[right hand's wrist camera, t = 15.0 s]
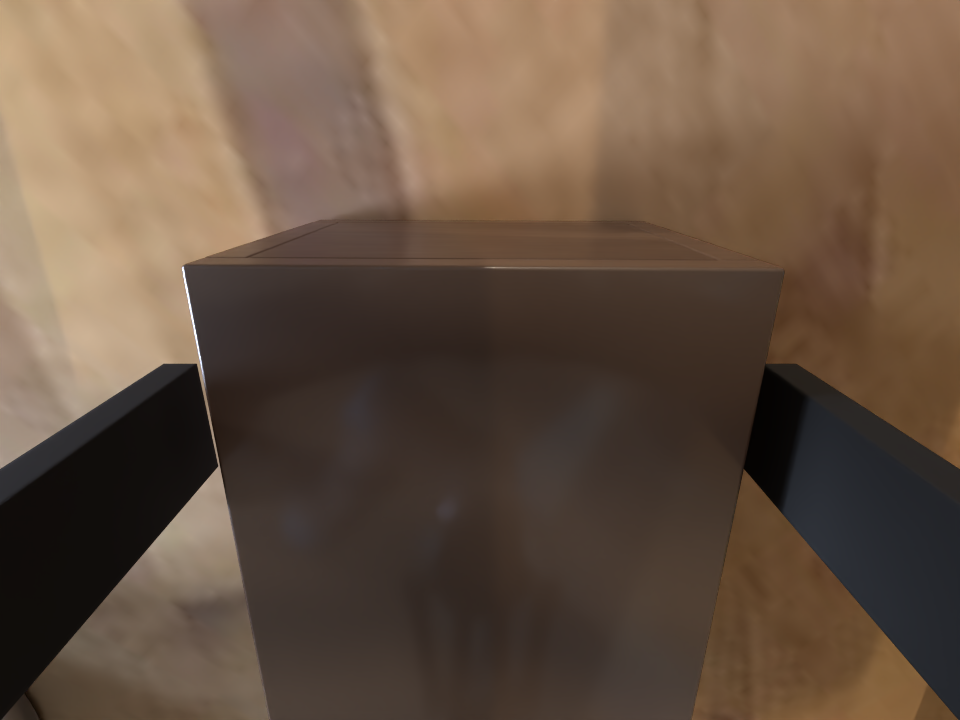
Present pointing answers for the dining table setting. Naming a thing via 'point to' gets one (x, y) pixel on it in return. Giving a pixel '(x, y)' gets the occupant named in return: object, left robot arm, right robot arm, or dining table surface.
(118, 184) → the dining table surface
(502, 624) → the cabinet
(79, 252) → the dining table surface
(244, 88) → the dining table surface
